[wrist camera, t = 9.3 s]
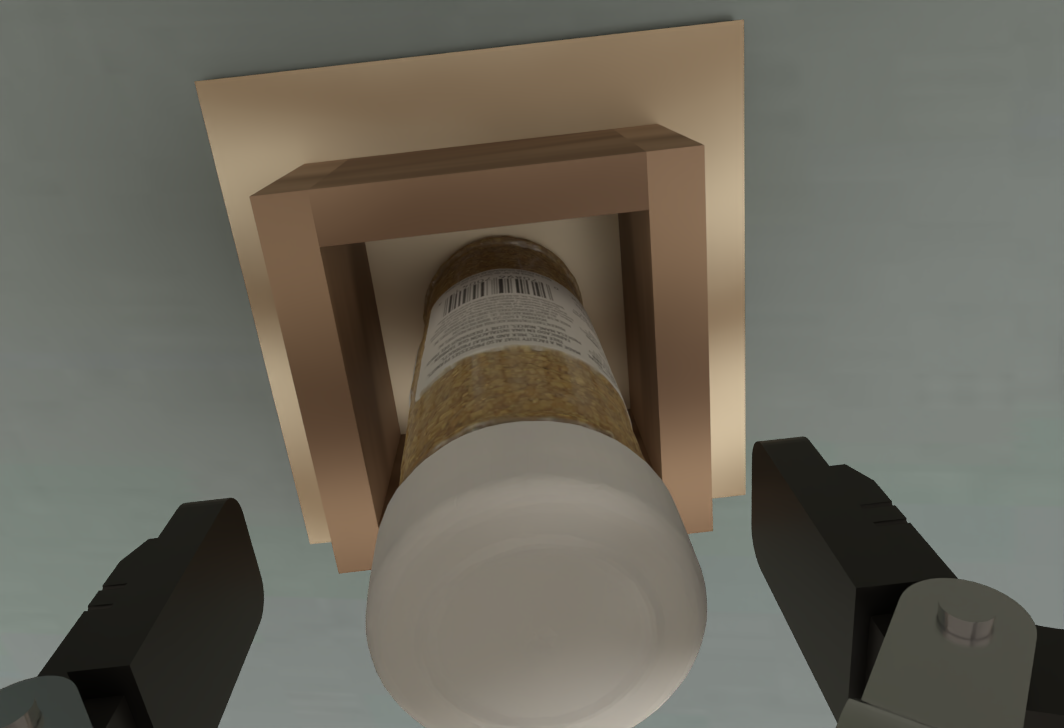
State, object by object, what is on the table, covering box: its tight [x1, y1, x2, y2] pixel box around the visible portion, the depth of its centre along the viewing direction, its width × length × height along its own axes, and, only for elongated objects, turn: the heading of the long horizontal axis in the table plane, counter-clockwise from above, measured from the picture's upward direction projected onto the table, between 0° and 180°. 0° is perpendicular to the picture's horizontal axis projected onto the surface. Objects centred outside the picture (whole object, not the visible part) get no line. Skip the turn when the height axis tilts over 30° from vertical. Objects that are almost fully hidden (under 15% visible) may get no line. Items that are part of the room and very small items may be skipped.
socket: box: [195, 20, 745, 573], centre depth 21 cm, size 14×14×6 cm
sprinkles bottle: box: [366, 237, 707, 728], centre depth 16 cm, size 5×5×14 cm
